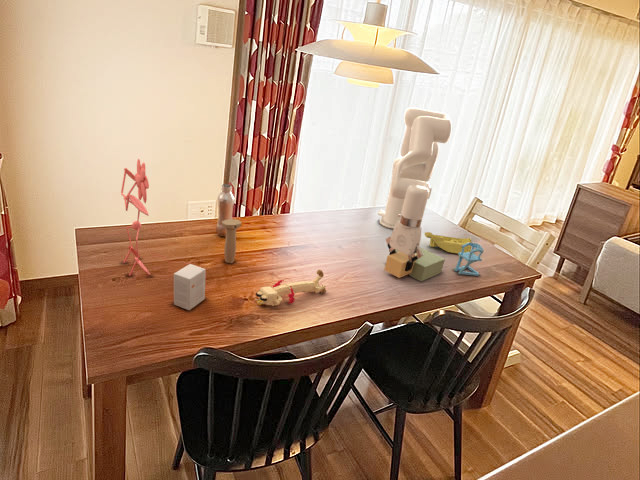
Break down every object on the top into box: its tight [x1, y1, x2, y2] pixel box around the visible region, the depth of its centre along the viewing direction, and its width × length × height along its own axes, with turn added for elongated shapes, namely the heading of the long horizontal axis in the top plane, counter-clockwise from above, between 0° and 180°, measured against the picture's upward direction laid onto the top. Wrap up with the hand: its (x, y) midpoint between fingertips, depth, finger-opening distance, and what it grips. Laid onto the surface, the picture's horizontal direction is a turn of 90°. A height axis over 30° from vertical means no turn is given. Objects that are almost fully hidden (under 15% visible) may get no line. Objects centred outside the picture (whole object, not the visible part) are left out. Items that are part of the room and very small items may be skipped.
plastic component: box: [424, 231, 472, 255], centre depth 208 cm, size 20×7×10 cm
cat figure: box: [254, 269, 327, 307], centre depth 150 cm, size 10×9×25 cm
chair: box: [454, 242, 484, 277], centre depth 187 cm, size 8×8×12 cm
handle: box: [222, 218, 242, 264], centre depth 165 cm, size 5×6×15 cm
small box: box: [173, 263, 207, 311], centre depth 139 cm, size 8×6×10 cm
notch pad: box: [396, 247, 446, 282], centre depth 184 cm, size 16×14×6 cm
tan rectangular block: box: [384, 252, 417, 279], centre depth 177 cm, size 7×12×6 cm, turn 135°
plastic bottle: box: [215, 183, 235, 237], centre depth 183 cm, size 6×7×20 cm
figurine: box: [120, 158, 172, 277], centre depth 148 cm, size 15×26×35 cm, turn 30°
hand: (399, 265), depth 176 cm, fingers closed on tan rectangular block, 7 cm apart
